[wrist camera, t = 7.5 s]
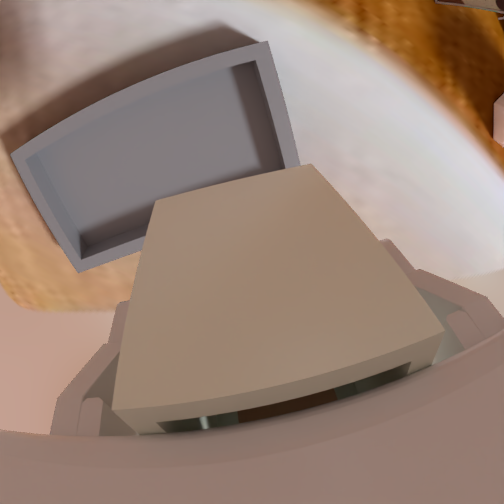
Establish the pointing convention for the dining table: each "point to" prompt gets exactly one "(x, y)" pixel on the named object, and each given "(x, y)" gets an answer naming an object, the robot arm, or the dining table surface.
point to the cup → (263, 307)
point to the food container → (477, 4)
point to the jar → (499, 120)
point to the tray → (156, 150)
